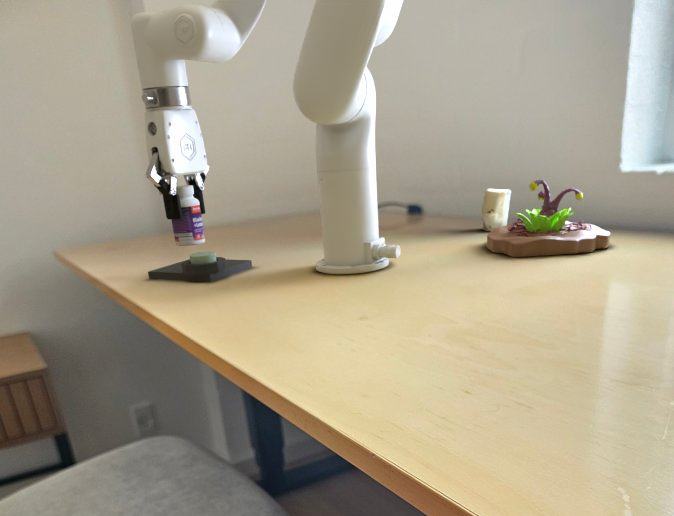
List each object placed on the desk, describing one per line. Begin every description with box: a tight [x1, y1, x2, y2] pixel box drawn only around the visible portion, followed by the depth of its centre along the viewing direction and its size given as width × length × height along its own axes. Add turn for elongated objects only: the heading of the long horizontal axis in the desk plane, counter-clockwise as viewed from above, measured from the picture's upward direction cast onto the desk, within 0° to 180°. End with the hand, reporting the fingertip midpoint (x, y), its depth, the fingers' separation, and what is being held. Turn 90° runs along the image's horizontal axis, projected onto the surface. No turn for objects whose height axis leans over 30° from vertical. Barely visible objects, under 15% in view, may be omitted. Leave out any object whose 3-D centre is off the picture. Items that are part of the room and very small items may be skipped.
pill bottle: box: [170, 184, 206, 247], centre depth 116 cm, size 5×5×10 cm
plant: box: [486, 179, 611, 258], centre depth 115 cm, size 20×20×11 cm
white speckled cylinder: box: [481, 188, 512, 232], centre depth 136 cm, size 6×5×8 cm
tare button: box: [189, 251, 217, 264], centre depth 112 cm, size 4×4×2 cm
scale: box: [147, 256, 253, 283], centre depth 116 cm, size 15×13×3 cm
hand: (186, 215), depth 116 cm, fingers closed on pill bottle, 5 cm apart
